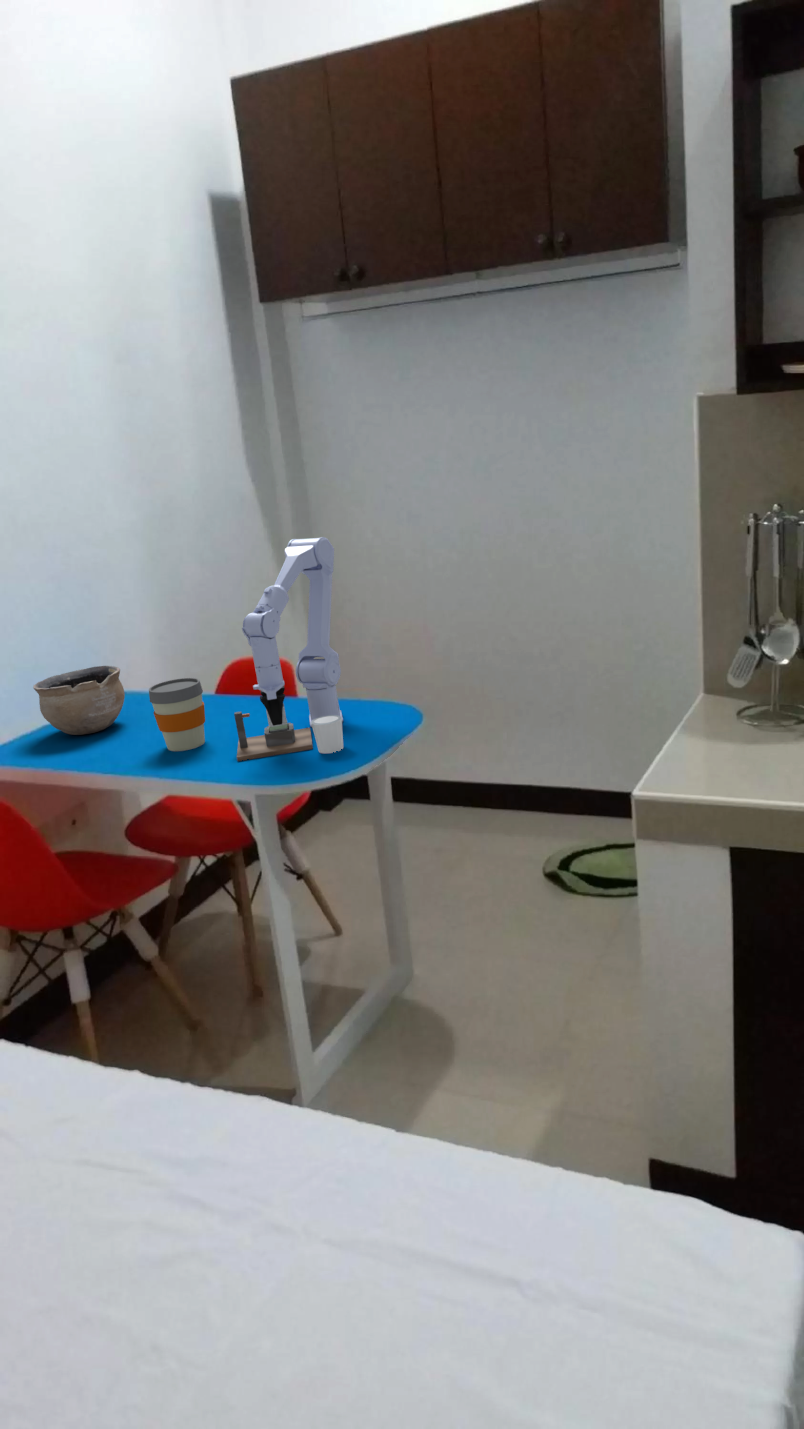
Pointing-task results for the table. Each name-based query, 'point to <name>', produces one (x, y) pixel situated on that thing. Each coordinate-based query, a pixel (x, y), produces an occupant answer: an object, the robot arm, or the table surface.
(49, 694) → the ceramic bowl
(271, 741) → the stand
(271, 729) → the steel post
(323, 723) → the shot glass
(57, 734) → the table surface
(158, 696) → the reusable coffee cup
